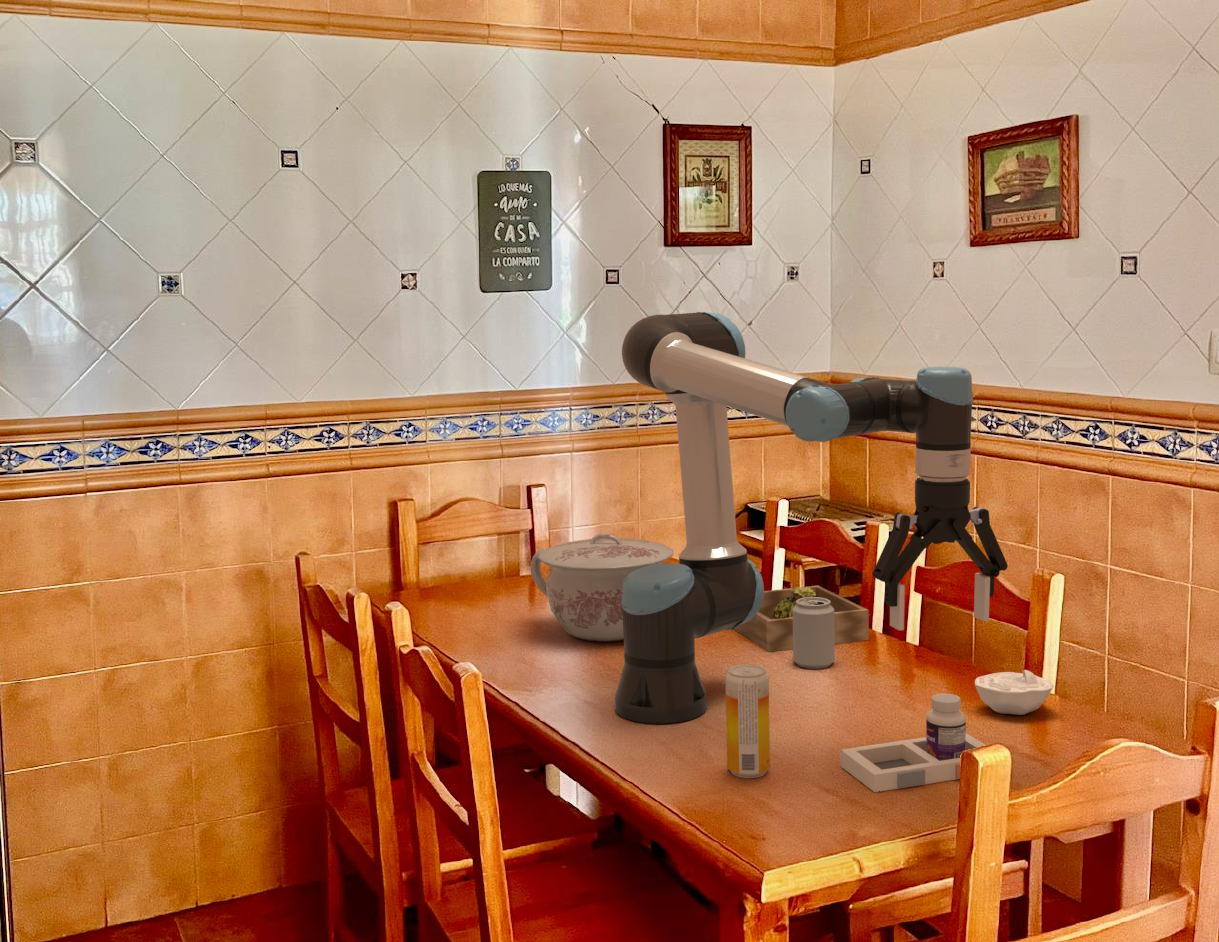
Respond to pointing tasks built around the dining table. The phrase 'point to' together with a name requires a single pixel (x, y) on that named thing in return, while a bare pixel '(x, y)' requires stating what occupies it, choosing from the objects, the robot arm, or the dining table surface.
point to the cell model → (1013, 691)
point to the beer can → (747, 721)
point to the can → (813, 633)
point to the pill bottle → (945, 727)
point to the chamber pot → (593, 581)
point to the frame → (779, 632)
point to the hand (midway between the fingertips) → (939, 623)
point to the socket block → (900, 764)
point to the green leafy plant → (791, 602)
